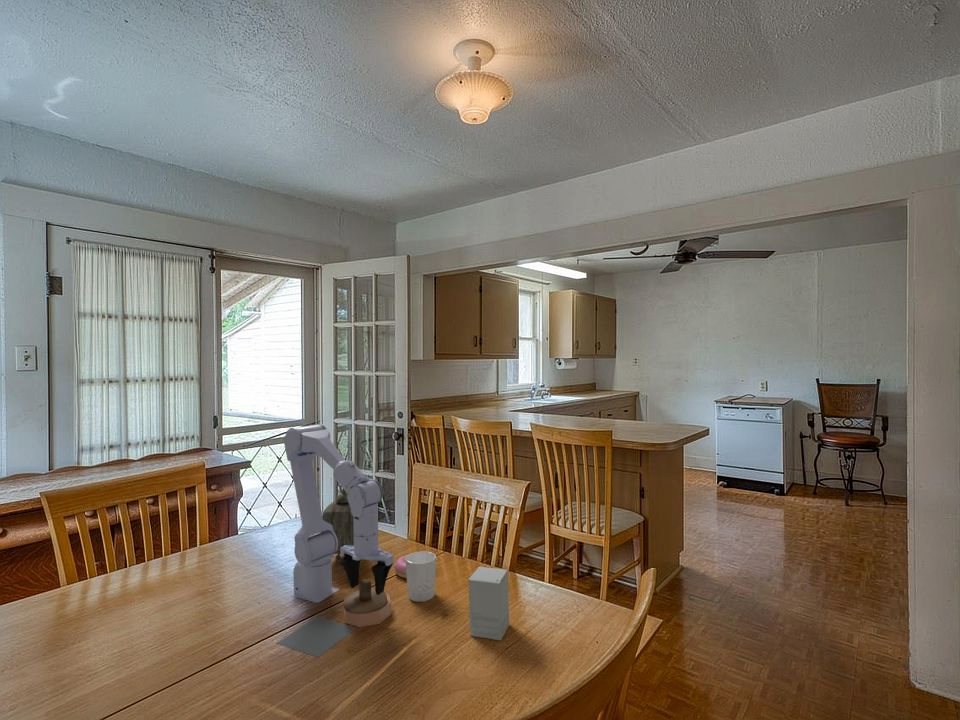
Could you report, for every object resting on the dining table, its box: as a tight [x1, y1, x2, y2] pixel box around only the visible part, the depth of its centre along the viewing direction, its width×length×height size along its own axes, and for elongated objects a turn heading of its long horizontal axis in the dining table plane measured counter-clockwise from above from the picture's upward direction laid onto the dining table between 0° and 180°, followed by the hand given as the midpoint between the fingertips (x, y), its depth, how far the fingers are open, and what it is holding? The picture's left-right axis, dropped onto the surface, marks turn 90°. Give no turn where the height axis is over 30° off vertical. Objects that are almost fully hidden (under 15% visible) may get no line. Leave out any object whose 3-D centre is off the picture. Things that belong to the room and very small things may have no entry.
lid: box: [343, 578, 387, 614], centre depth 119 cm, size 10×10×5 cm
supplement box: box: [468, 566, 510, 642], centre depth 112 cm, size 7×7×13 cm
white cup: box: [405, 550, 437, 603], centre depth 129 cm, size 8×8×10 cm
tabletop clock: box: [322, 484, 354, 561], centre depth 153 cm, size 14×9×25 cm, turn 179°
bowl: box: [343, 592, 392, 628], centre depth 119 cm, size 11×11×4 cm
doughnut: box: [393, 553, 410, 580], centre depth 144 cm, size 11×11×4 cm
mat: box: [276, 616, 358, 658], centre depth 111 cm, size 12×12×1 cm
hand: (367, 589), depth 119 cm, fingers open, 7 cm apart
